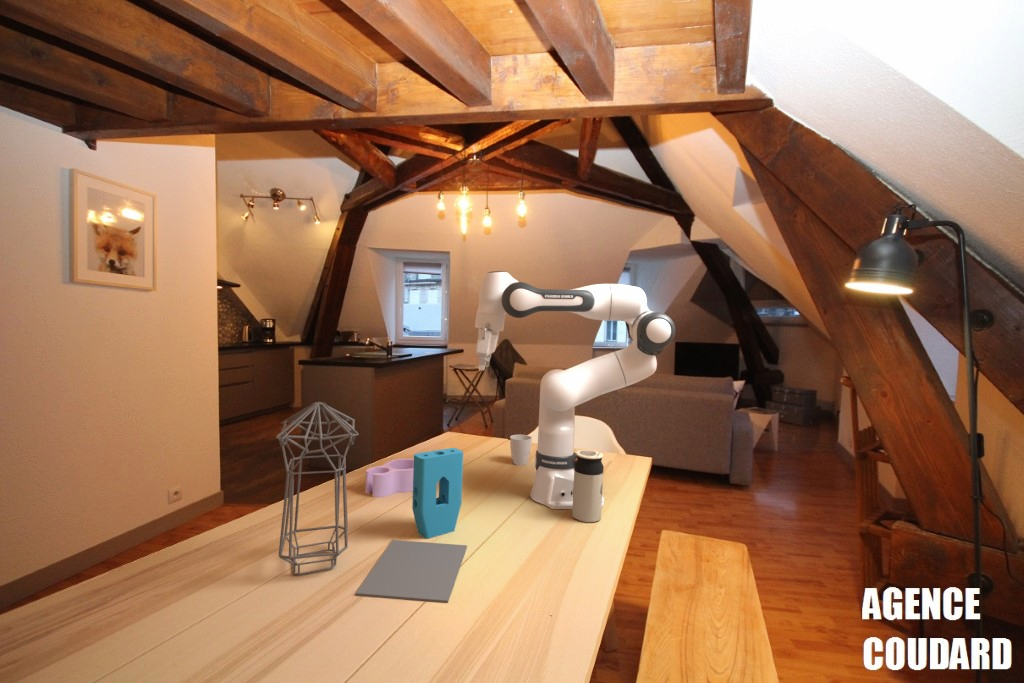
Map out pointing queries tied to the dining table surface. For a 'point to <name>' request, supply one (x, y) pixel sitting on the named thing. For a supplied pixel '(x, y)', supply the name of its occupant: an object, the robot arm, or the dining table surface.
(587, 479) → the travel mug
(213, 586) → the dining table surface
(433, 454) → the block
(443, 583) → the mat
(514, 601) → the dining table surface
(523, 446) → the cup
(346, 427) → the geometric lantern
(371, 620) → the dining table surface
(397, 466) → the clip
